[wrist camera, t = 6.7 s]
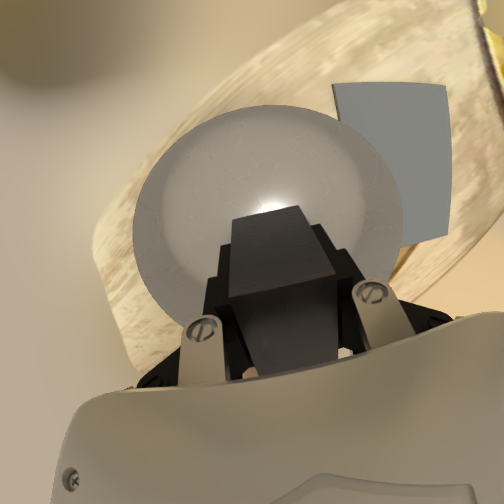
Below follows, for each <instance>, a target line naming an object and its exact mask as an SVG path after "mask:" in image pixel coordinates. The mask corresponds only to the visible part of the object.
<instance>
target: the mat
mask: <svg viewBox="0 0 504 504" xmlns="http://www.w3.org/2000/svg"><path fill="white" fill-rule="evenodd" d="M332 88H333V92H334V97H335V102H336V107H337V113H338V118H339V121H340V122H342V123H344V124H346V125H348V126H349V127H350V128H352V129H353V130H355V131H356V132H357V133H359V134H360V135H361V136H363V137H364V138H365V139H366V140H367V141H368V142H369V143H370V144H371V145H372V146H373V147H374V148H375V149H376V150H377V152H378V153H379V154H380V156H381V157H382V159H383V160H384V161H385V163H386V164H387V166H388V168H389V170H390V172H391V174H392V176H393V178H394V180H395V182H396V185H397V188H398V191H399V194H400V198H401V204H402V210H403V234H402V243H401V247H405V246H409V245H413V244H416V243H420V242H424V241H427V240H431V239H435V238H438V237H442V236H445V235H447V234H448V225H449V216H450V203H451V184H452V147H451V128H450V116H449V107H448V99H447V92H446V86H443V85H433V84H421V83H402V82H363V83H343V84H332ZM401 247H400V248H401Z"/></svg>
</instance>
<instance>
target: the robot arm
mask: <svg viewBox="0 0 504 504" xmlns="http://www.w3.org/2000/svg"><path fill="white" fill-rule="evenodd" d="M310 226H311V228H312V230H313V231H314V233H315V235H316V237H317V239H318V240H319V242H320V244H321V246H322V248H323V250H324V252H325V253H326V255H327V257H328V259H329V261H330V263H331V265H332V267H333V269H334V271H335V273H336V278H337V301H338V349H340V348H343V347H344V348H347V349H349V350H350V355H351V356H349V357H345V358H341V359H337V360H334V361H330V362H326V363H322V364H318V365H313V366H309V367H304V368H300V369H295V370H290V371H285V372H280V373H275V374H269V375H264V376H259V375H258V373H257V370H256V368H255V366H254V363H253V361H252V358H251V355H250V353H249V350H248V348H247V345H246V343H245V340H244V338H243V335H242V332H241V330H240V327H239V325H238V322H237V319H236V317H235V314H234V311H233V309H232V306H231V303H230V300H229V298H228V297H229V272H230V251H231V243H229V244H225V245H221V246H220V253H219V262H218V271H217V276H215V277H210V278H208V280H207V286H206V293H205V300H204V307H203V313H202V316H199V317H196V318H194V319H192V320H191V321H190V322H188V323H187V324H186V326H185V327H184V329H183V332H182V339H181V346H180V347H179V348H178V349H177V350H176V351H174V352H173V353H172V354H171V355H169V356H168V357H167V358H166V359H164V360H163V361H162V362H161V363H159V364H158V365H157V366H156V367H155V368H153V369H152V370H151V371H150V372H148V373H147V374H146V375H144V376H143V377H142V378H141V379H140V381H139V383H138V385H137V388H134V387H132V386H131V387H129V388H127V389H124V390H121V391H115V392H111V393H106V394H103V395H100V396H97V397H95V398H92V399H90V400H88V401H87V402H85V403H83V404H82V405H81V406H80V407H79V408H78V409H77V411H76V412H75V414H74V416H73V417H72V420H71V422H70V424H69V427H68V429H67V432H66V434H65V438H64V440H63V444H62V447H61V451H60V455H59V459H58V462H57V467H56V473H55V478H54V484H53V490H52V497H51V504H504V312H497V311H495V312H482V313H477V314H472V315H469V316H466V317H456V318H455V320H453V319H452V318H451V317H450V316H449V315H447V314H445V313H443V312H441V311H437V310H434V309H430V308H426V307H423V306H419V305H416V304H412V303H409V302H405V301H402V300H398V299H397V297H396V295H395V293H394V291H393V290H392V288H391V287H390V286H389V284H387V283H386V282H384V281H381V280H378V279H367V280H366V279H365V277H364V276H363V274H362V273H361V271H360V270H359V268H358V266H357V265H356V263H355V262H354V260H353V259H352V257H351V256H350V254H349V253H348V251H347V250H346V249H345V248H342V249H338V250H337V249H336V248H335V246H334V244H333V243H332V241H331V240H330V238H329V236H328V235H327V233H326V232H325V230H324V229H323V227H322V225H321V224H315V225H310Z"/></svg>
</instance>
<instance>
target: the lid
mask: <svg viewBox="0 0 504 504" xmlns="http://www.w3.org/2000/svg"><path fill="white" fill-rule="evenodd" d="M315 224H321V225H322V227H323V229H324V230H325V232H326V233H327V235H328V236H329V238H330V240H331V241H332V243H333V244H334V246H335V248H336V249H337V250H338V249H342V248H345V249H346V250H347V251H348V253H349V254H350V256H351V257H352V259H353V260H354V262H355V263H356V265H357V266H358V268H359V270H360V271H361V273H362V274H363V276H364V277H365V279H366V280H367V279H378V280H381V281H384V282H387V280H388V279H389V277H390V275H391V273H392V271H393V269H394V266H395V263H396V261H397V258H398V255H399V251H400V247H401V243H402V234H403V210H402V204H401V198H400V194H399V191H398V188H397V185H396V182H395V180H394V178H393V176H392V174H391V172H390V170H389V168H388V166H387V164H386V163H385V161H384V160H383V159H382V157H381V156H380V154H379V153H378V152H377V150H376V149H375V148H374V147H373V146H372V145H371V144H370V143H369V142H368V141H367V140H366V139H365V138H364V137H363V136H361V135H360V134H359V133H357V132H356V131H355V130H353V129H352V128H350V127H349V126H348V125H346V124H344V123H342V122H340V121H338V120H336V119H334V118H332V117H330V116H328V115H325V114H322V113H319V112H316V111H313V110H310V109H305V108H299V107H293V106H286V105H263V106H255V107H249V108H242V109H238V110H235V111H232V112H228V113H225V114H222V115H219V116H217V117H215V118H213V119H211V120H208V121H206V122H204V123H202V124H200V125H198V126H197V127H195V128H194V129H193V130H191V131H190V132H188V133H187V134H185V135H184V136H183V137H181V138H180V139H179V140H178V141H177V142H176V143H174V144H173V145H172V146H171V147H170V148H169V149H168V150H167V151H166V152H165V153H164V154H163V156H162V157H161V158H160V160H159V161H158V162H157V163H156V165H155V166H154V167H153V169H152V170H151V172H150V174H149V176H148V178H147V179H146V181H145V183H144V185H143V187H142V190H141V193H140V195H139V198H138V201H137V204H136V209H135V214H134V220H133V247H134V255H135V259H136V262H137V266H138V270H139V272H140V274H141V277H142V279H143V281H144V284H145V286H146V287H147V289H148V290H149V292H150V294H151V295H152V297H153V298H154V300H155V301H156V302H157V303H158V305H159V306H160V307H161V308H162V309H163V310H164V311H165V312H166V313H167V314H168V315H169V316H170V317H171V318H172V319H173V320H175V321H176V322H177V323H179V324H180V325H181V326H183V327H185V326H186V324H187V323H188V322H190V321H191V320H192V319H194V318H196V317H199V316H202V313H203V307H204V300H205V293H206V286H207V280H208V278H210V277H215V276H217V271H218V262H219V253H220V246H221V245H225V244H229V243H231V251H230V272H229V297H228V298H229V300H230V303H231V306H232V309H233V311H234V314H235V317H236V319H237V322H238V325H239V327H240V330H241V332H242V335H243V338H244V340H245V343H246V345H247V348H248V350H249V353H250V355H251V358H252V361H253V363H254V366H255V368H256V370H257V373H258V375H259V376H264V375H269V374H275V373H280V372H285V371H290V370H295V369H300V368H304V367H309V366H313V365H318V364H322V363H326V362H330V361H334V360H337V359H338V301H337V278H336V273H335V271H334V269H333V267H332V265H331V263H330V261H329V259H328V257H327V255H326V253H325V252H324V250H323V248H322V246H321V244H320V242H319V240H318V239H317V237H316V235H315V233H314V231H313V230H312V228H311V226H310V225H315Z"/></svg>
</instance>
